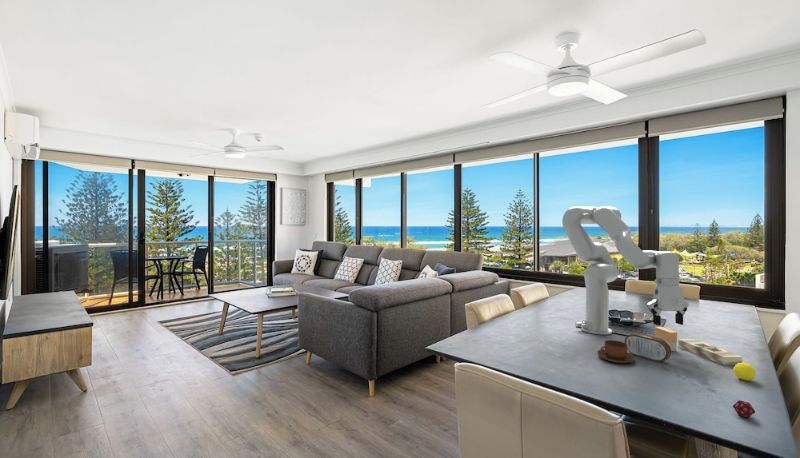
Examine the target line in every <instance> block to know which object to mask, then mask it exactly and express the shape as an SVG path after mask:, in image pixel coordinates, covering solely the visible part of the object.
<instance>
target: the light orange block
mask: <svg viewBox="0 0 800 458" xmlns="http://www.w3.org/2000/svg"><path fill="white" fill-rule="evenodd" d="M653 337H656V338H660V339H662V340H664V341H665V342H667V344H668V345H669V346H670V348H671V352H676V351H677V344H678V332H677V331H675V330H671V329H669V328H666V327H663V326H654V336H653Z"/></svg>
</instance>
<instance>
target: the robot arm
mask: <svg viewBox="0 0 800 458" xmlns="http://www.w3.org/2000/svg"><path fill="white" fill-rule="evenodd" d="M582 225H598V226H599V228H601V230H602V231H603V232H604V233H605V234H606V235H607V236H609V238H610V239H611V240H612V241H613V243H614V247H615V248H616V250H617V252H618V253H619V254H620V256H621V257H622V258H623V259H624V260H625V261H626V262H628V264H629V265H630V266H632V267H633V268H635V269H636V270H637V269H639V270H643V269H652V268H654V269H655V276H656V277H655V278H656V279H654V283H655V285H654V288H653V290H654V291H653V297H652V298H653V299H652V300H651V301H649V302H648V303H647V304H646V306H647V309H648V311H649V312H650V313H651V315H652V324H653V325H656V326H657V327H661V325H662V322H661V321H662V320H661V318H662V317H661V315H660V314H661V313H662V312H675V314H674V316H675V317H674V320H675V324H677V325H681V326H683V325H684V315H686V312H687V310H688V307H689V306H690V304H689V302H687V301H685V300H684V299H685V297H684V292H683V288H682V285H680V261H679V260H680V259H679V258H680V255H679V254H678V253H677V252H676V251H669V250H668V251H667V250H666V251H665V250H664V251H657V250H651V249H646V250H645V249H644V250H642V249H641V248H640V247H639V246H638V245H637V244H636V242H634V241H633V239H632V237H631V231H632V229H631V228H630V226H628V225H627V224H626V223H625V222H624V220H622V213H621V212H620V210H619V209H618V208H616V207H613V206H599V207H598V206H596V207H595V206H580V205H579V206H577V205H575V206H572V207H569V208H568V209H567V210H566V211H565V212H564V214H563V216H562V228H563V230H564V232H565V234H566V236H567V237H568V240H569V241H570V244H571V246H572V248H573V249H574V251H575V253H576V254H575V255H577V257H578V259H579V261H581V262H582V263H591V264H590V265H588V266H587V267H586V268H585V269H584V273H583V276H584V277H583V278H584V283H585V317H584V318H585V319H583V320H582V321H581V322H580V321H577V322H575V323H574V325H575V327H580V328H581V330H582V331H583V332H586V333H588V334H589V333H590V334H593V335H602V336H603V335H604V336H607V335H611V334H612V333H613V330H612V329H611V328H609V315H610V314H609V312H610V310H609V309H610V308H609V305H610V304H609V303H610V302H609V301H610V299H609V298H610V297H609V296H610V292H609V287H608V283H611V282H615V280H617V279H618V276H619V270H618V267H617V265H616V263H615V262H614V259H613V258H612V256H611V254H610V253H609V251H608V249H607V247H606V246H605V245H603V244H602V243H601V242H596V241H594V242H593V240H592V239H591V237H590V236H589V233H588V232H587V231H586V229H585V228H584V227H583V226H582Z"/></svg>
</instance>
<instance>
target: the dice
mask: <svg viewBox="0 0 800 458" xmlns="http://www.w3.org/2000/svg"><path fill="white" fill-rule="evenodd" d="M732 408H734V411H735V412H736V413H737V415H738V416H740V417H744V418H748V419H749V418H750V417H751V416H752V415H754V414H755V413H756V411H755V409H754V408H753V405H751V402H749V401H744V400H740V399H738V400H737V402H735V403H734V404H733V405H732Z"/></svg>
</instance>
